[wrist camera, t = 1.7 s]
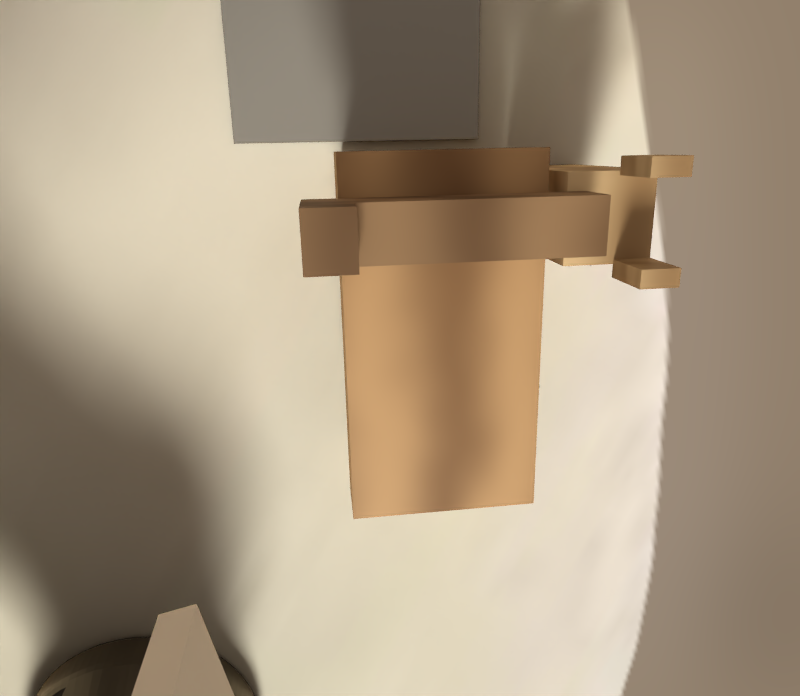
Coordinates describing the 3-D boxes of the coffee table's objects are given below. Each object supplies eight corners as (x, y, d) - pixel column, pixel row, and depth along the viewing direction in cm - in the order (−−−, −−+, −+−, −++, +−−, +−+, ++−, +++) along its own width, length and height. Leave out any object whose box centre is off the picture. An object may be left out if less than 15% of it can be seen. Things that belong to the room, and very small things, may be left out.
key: (304, 258, 26) (303, 277, 23) (301, 199, 26) (298, 208, 22) (582, 247, 28) (624, 262, 24) (586, 190, 27) (630, 197, 23)
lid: (350, 487, 34) (353, 518, 31) (333, 151, 29) (335, 152, 26) (515, 474, 35) (533, 503, 32) (527, 147, 30) (550, 147, 27)
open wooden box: (353, 431, 39) (368, 545, 28) (340, 158, 35) (352, 163, 23) (559, 416, 41) (653, 518, 30) (574, 153, 36) (694, 155, 25)
